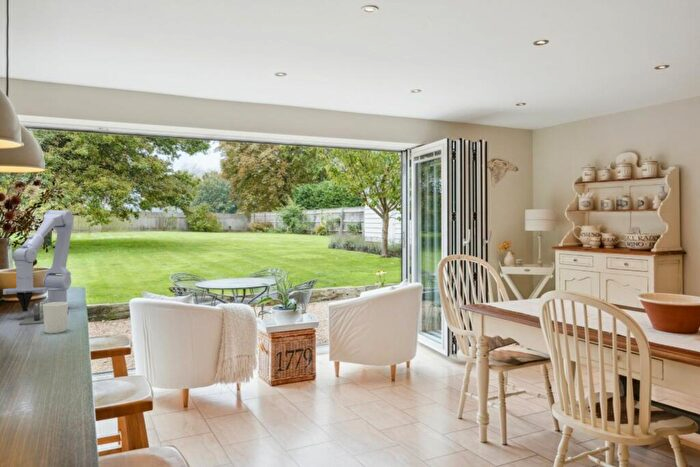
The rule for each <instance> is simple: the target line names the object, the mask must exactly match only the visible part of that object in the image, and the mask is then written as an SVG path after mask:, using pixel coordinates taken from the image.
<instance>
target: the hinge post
mask: <svg viewBox="0 0 700 467" xmlns="http://www.w3.org/2000/svg"><path fill="white" fill-rule="evenodd" d="M39 303H40V302H39ZM39 303H33V313H34V321H39V320H40V304H39Z"/></svg>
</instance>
